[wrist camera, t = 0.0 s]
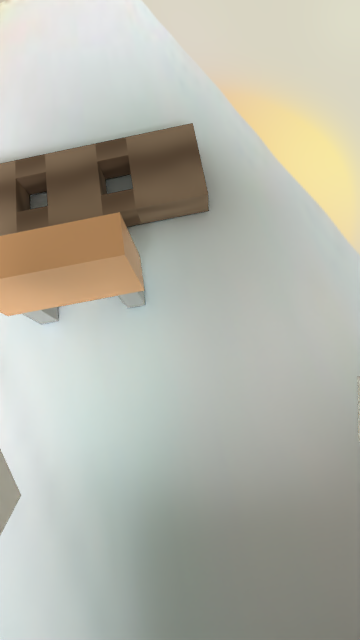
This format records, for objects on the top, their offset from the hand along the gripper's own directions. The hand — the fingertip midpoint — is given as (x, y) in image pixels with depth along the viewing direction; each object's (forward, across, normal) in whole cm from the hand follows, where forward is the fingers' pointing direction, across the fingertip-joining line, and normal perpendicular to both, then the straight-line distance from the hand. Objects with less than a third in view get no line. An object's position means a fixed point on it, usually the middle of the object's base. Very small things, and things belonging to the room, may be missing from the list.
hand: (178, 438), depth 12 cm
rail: (+26, +8, -10) cm, 29 cm away
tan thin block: (+19, +8, -1) cm, 21 cm away
